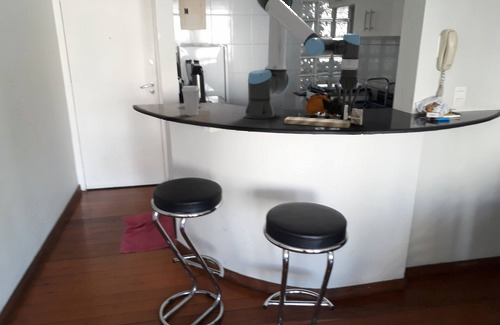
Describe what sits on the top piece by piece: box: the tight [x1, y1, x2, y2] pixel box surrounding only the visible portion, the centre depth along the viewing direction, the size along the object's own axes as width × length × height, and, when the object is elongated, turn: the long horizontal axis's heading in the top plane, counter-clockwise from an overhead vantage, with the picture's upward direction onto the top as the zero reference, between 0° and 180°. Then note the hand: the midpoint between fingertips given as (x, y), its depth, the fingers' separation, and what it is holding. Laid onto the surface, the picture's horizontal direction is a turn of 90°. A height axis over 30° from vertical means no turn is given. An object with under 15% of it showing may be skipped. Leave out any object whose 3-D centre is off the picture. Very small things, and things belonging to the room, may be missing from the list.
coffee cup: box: [181, 85, 201, 117], centre depth 205 cm, size 10×10×15 cm
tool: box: [305, 92, 354, 118], centre depth 201 cm, size 8×23×15 cm, turn 73°
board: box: [283, 116, 352, 129], centre depth 182 cm, size 30×7×2 cm, turn 70°
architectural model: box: [346, 107, 364, 126], centre depth 182 cm, size 3×7×7 cm, turn 45°
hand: (345, 119), depth 185 cm, fingers closed
